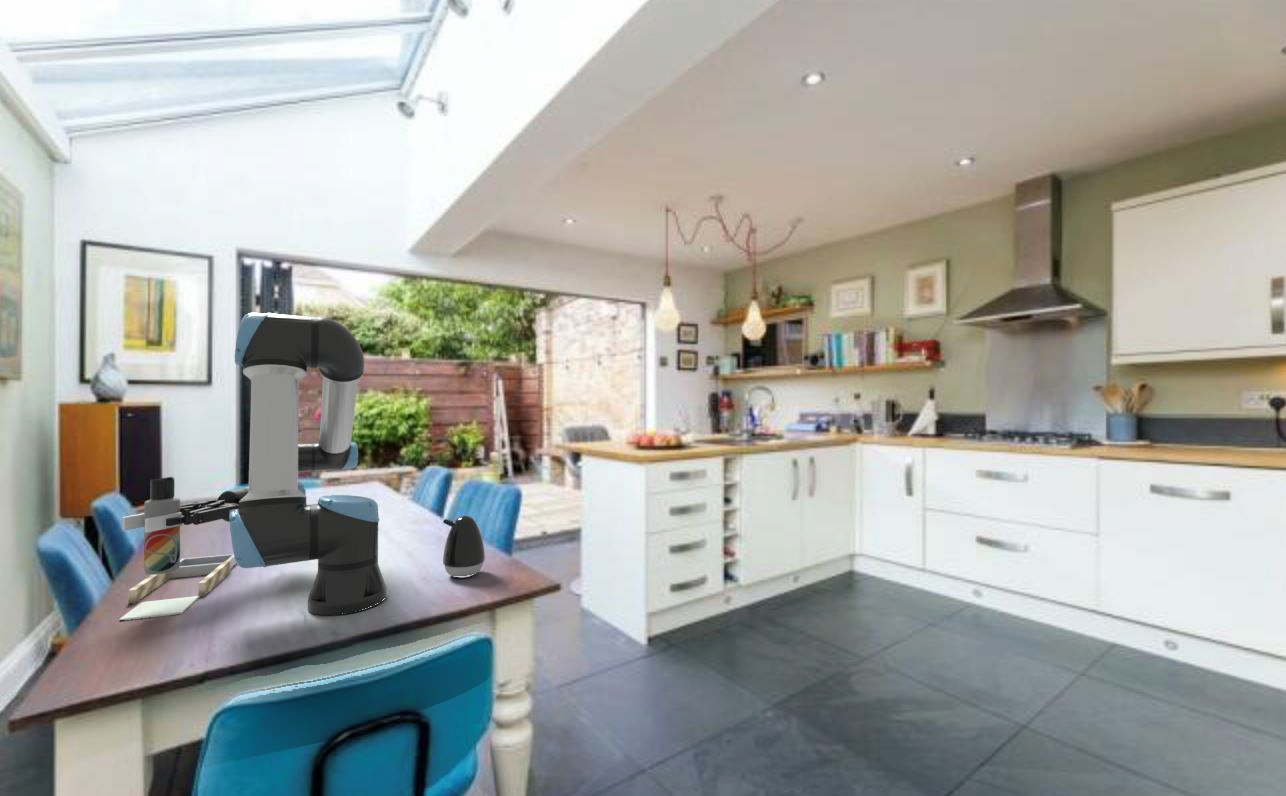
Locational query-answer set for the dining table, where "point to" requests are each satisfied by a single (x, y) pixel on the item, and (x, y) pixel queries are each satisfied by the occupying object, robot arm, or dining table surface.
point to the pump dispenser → (463, 547)
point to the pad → (160, 608)
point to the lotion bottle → (165, 542)
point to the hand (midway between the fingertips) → (135, 524)
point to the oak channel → (158, 579)
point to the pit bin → (201, 565)
